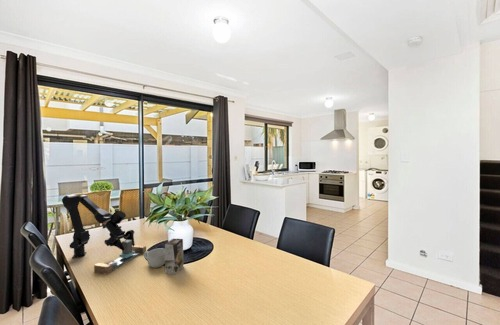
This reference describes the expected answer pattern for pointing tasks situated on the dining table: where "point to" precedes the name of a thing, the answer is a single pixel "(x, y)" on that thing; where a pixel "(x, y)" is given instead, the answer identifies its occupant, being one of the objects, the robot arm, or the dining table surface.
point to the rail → (118, 261)
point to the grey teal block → (127, 249)
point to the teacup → (155, 257)
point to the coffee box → (173, 256)
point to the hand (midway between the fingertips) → (129, 247)
